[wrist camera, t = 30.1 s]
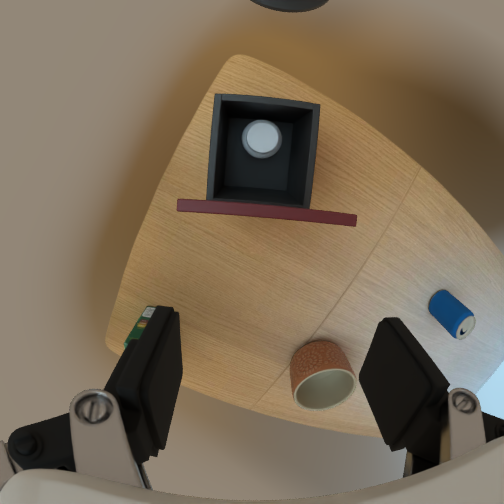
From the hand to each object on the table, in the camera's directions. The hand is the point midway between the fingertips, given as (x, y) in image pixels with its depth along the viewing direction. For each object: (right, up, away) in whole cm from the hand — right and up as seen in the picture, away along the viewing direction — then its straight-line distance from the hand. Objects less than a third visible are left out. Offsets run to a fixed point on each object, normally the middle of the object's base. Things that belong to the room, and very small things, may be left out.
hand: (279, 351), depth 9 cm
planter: (+13, -19, +47) cm, 52 cm away
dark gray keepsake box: (0, +19, +33) cm, 38 cm away
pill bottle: (0, +21, +32) cm, 38 cm away
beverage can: (+42, -8, +44) cm, 61 cm away
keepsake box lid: (0, +7, +14) cm, 16 cm away
